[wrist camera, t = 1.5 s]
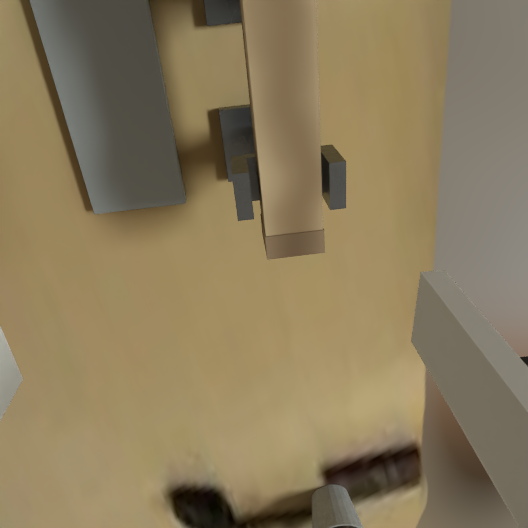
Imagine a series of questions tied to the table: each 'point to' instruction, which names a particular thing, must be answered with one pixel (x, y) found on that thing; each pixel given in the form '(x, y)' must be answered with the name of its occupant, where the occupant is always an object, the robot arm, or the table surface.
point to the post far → (245, 171)
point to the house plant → (333, 508)
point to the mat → (113, 100)
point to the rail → (285, 122)
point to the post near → (222, 11)
